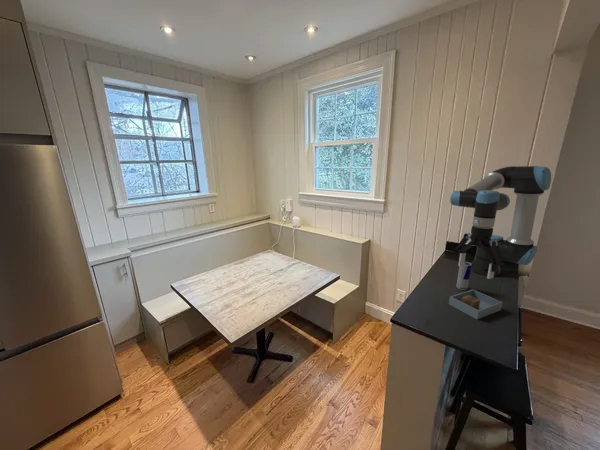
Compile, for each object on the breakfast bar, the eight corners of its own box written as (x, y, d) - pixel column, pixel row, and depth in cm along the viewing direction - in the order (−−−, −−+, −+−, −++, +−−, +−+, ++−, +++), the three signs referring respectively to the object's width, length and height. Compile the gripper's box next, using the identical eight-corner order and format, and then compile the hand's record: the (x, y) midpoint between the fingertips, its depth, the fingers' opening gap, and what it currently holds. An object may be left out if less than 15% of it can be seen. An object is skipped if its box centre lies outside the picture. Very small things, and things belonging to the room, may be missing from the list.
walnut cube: (460, 306, 114) (462, 297, 113) (467, 304, 116) (469, 294, 115) (471, 312, 110) (473, 302, 108) (478, 309, 112) (480, 300, 110)
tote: (471, 296, 124) (472, 289, 123) (500, 310, 112) (502, 302, 111) (448, 304, 117) (449, 296, 116) (477, 319, 106) (478, 311, 105)
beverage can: (469, 291, 129) (473, 265, 125) (458, 290, 130) (462, 264, 126) (464, 286, 134) (469, 261, 130) (454, 286, 135) (458, 260, 131)
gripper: (450, 221, 116) (444, 262, 121) (507, 235, 92) (497, 285, 98) (462, 219, 118) (456, 260, 123) (521, 233, 95) (510, 282, 100)
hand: (474, 271), depth 110 cm, fingers open, 13 cm apart
